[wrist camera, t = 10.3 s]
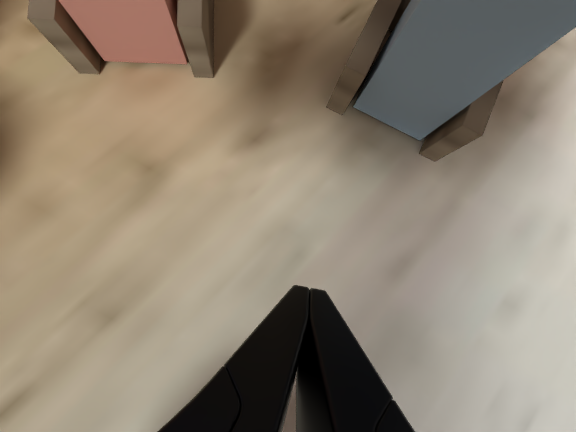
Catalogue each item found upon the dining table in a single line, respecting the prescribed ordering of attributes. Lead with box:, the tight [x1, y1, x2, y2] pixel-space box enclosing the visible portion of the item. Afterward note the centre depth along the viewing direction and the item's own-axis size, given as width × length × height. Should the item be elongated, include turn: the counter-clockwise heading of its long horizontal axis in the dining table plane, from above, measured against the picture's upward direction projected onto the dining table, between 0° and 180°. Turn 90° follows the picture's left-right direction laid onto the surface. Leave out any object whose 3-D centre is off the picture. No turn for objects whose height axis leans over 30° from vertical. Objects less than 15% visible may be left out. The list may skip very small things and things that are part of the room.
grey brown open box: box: [327, 0, 503, 161], centre depth 20 cm, size 9×8×4 cm
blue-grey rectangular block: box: [353, 0, 576, 140], centre depth 15 cm, size 4×5×12 cm
